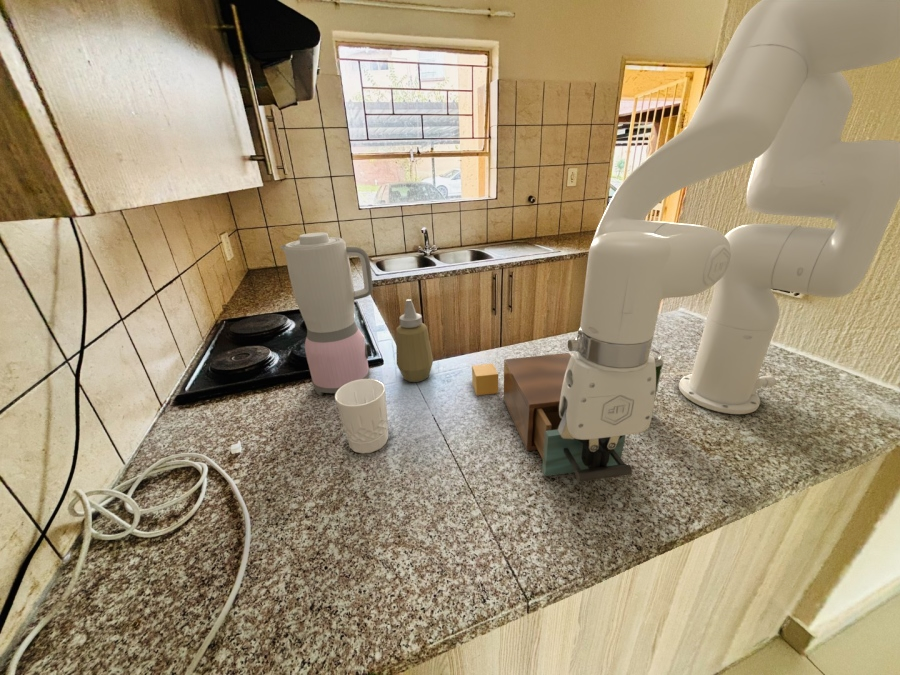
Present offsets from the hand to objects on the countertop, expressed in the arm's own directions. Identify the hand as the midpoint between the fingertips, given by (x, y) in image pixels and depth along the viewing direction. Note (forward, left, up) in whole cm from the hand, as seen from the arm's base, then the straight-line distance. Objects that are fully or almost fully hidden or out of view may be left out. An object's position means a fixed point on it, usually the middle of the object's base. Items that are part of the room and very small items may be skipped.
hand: (593, 466), depth 49 cm
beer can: (-16, -15, -4) cm, 22 cm away
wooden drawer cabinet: (0, -16, -4) cm, 17 cm away
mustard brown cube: (+9, -28, -4) cm, 30 cm away
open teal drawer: (0, -7, -3) cm, 7 cm away
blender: (+38, -37, -4) cm, 53 cm away
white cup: (+32, -16, -4) cm, 36 cm away
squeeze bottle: (+23, -36, -4) cm, 43 cm away
